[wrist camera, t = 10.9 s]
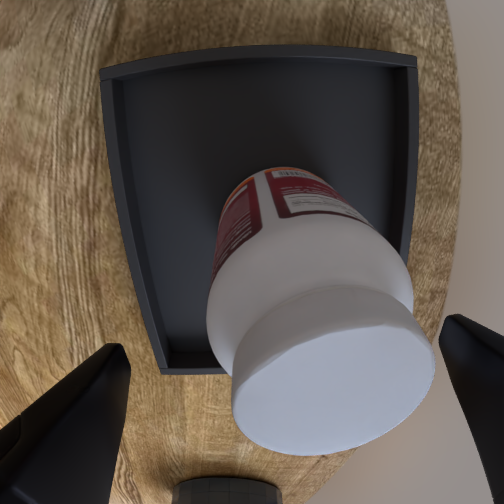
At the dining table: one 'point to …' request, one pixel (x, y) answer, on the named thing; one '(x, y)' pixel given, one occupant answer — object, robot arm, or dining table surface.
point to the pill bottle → (312, 318)
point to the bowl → (225, 492)
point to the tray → (246, 160)
